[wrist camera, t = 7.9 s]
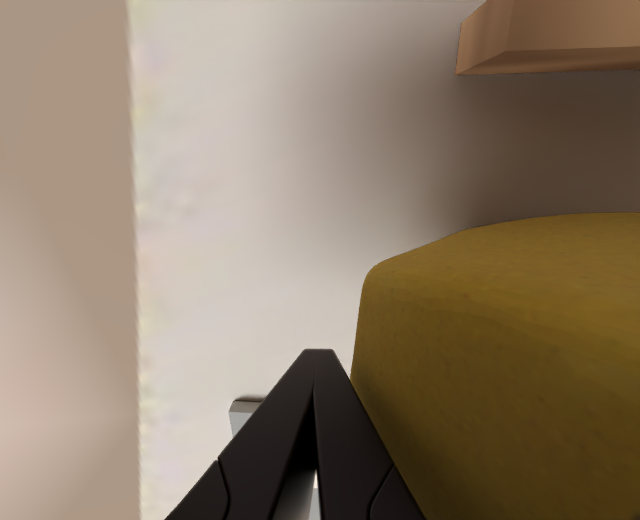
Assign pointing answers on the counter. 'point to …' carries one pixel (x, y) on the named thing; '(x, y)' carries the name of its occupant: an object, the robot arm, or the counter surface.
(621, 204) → the counter surface
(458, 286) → the flower pot
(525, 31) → the wooden tray frame
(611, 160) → the counter surface
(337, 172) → the counter surface
